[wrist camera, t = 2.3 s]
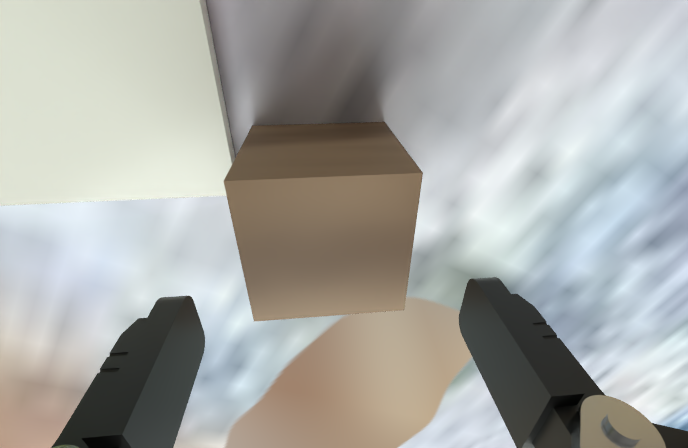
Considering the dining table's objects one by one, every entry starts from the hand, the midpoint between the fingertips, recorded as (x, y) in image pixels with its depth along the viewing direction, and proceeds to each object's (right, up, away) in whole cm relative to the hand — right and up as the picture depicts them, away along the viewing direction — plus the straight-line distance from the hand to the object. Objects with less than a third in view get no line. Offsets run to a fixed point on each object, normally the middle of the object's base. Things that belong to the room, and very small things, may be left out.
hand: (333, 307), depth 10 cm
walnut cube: (-1, +5, +7) cm, 8 cm away
